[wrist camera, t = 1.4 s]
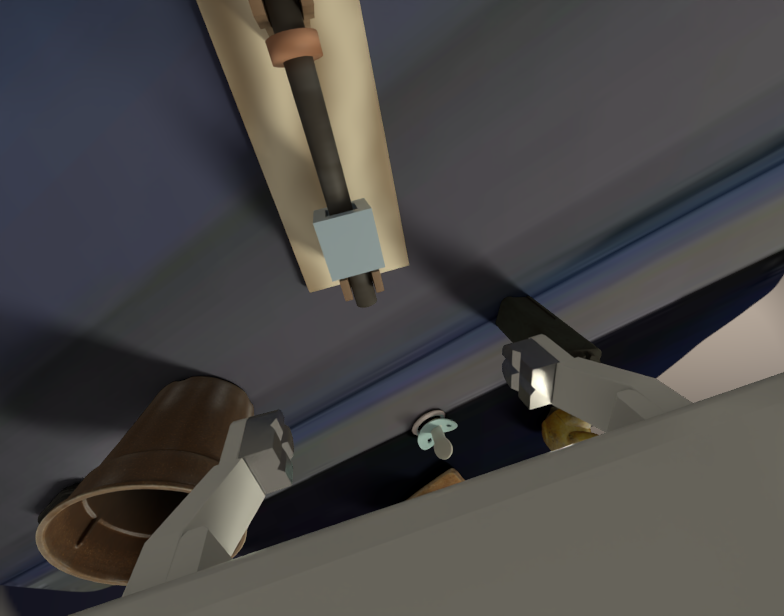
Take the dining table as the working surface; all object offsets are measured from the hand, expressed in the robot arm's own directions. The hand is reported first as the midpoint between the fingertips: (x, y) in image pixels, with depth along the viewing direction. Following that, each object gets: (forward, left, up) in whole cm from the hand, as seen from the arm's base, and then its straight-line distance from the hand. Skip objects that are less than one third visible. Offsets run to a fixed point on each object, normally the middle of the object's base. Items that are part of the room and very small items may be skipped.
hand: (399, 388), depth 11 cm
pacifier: (-5, +37, -27) cm, 46 cm away
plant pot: (+25, +20, -27) cm, 42 cm away
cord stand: (0, -6, -27) cm, 27 cm away
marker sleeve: (0, 0, -21) cm, 21 cm away
